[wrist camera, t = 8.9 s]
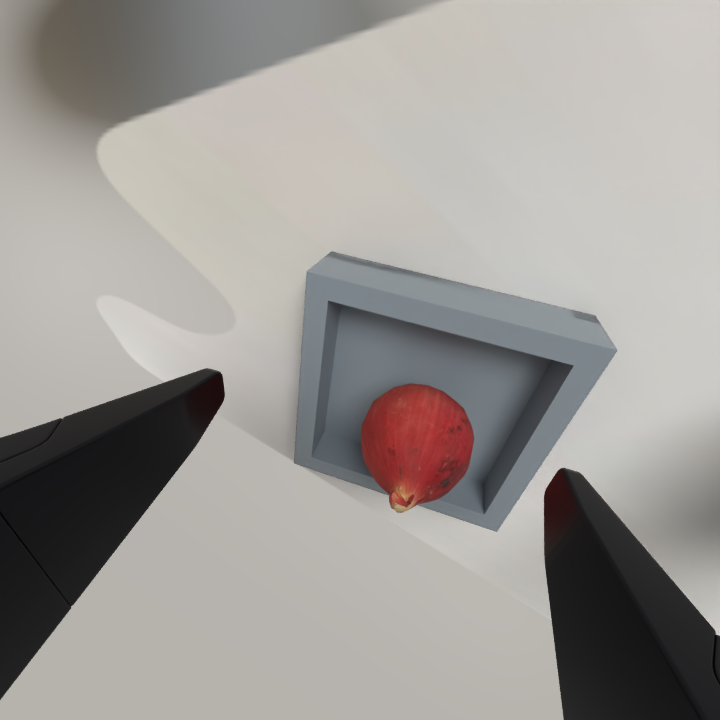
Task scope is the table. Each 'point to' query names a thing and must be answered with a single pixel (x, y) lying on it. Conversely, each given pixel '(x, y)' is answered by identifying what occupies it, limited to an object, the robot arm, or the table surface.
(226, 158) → the table surface
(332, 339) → the tray
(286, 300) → the table surface
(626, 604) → the robot arm
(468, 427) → the onion
